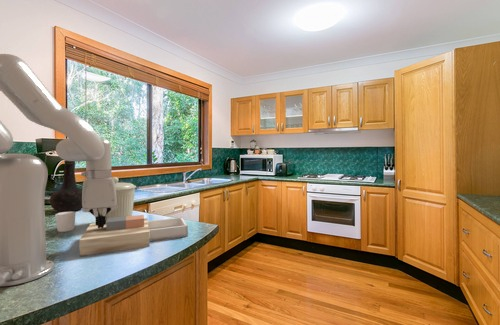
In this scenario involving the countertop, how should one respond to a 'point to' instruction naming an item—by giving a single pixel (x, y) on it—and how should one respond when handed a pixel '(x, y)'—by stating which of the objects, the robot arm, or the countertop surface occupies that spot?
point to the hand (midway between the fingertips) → (101, 226)
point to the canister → (122, 200)
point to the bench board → (113, 239)
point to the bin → (167, 229)
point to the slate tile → (116, 223)
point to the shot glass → (65, 221)
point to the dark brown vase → (67, 192)
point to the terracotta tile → (134, 221)
